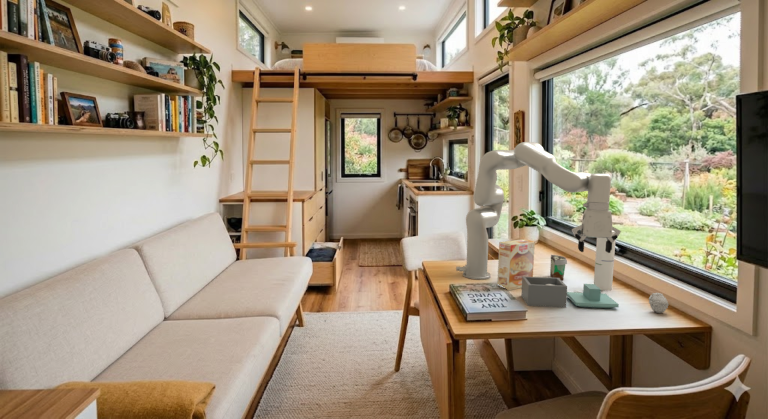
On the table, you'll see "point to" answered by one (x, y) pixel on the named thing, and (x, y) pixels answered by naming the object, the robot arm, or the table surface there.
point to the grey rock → (658, 302)
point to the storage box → (544, 291)
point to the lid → (591, 298)
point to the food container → (557, 267)
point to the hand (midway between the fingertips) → (594, 251)
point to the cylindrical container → (604, 265)
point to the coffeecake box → (515, 262)
